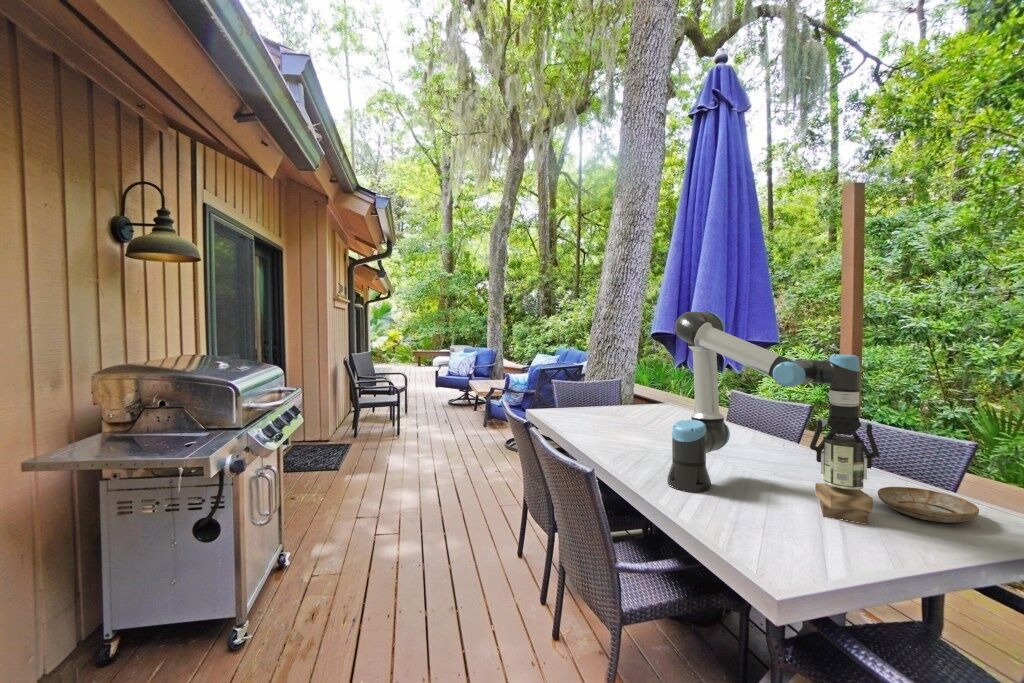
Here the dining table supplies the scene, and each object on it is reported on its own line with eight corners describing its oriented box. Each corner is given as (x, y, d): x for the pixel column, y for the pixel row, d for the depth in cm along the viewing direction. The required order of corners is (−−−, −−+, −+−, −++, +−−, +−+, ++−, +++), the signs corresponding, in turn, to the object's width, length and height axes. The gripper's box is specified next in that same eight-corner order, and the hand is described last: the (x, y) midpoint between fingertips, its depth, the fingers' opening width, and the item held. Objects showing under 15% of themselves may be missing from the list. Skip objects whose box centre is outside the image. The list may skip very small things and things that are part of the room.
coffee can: (852, 479, 144) (853, 436, 144) (871, 491, 134) (871, 444, 134) (816, 477, 146) (817, 434, 146) (832, 488, 136) (833, 442, 136)
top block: (830, 508, 136) (830, 495, 136) (815, 495, 147) (815, 482, 147) (872, 511, 133) (872, 498, 133) (854, 497, 144) (854, 485, 144)
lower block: (822, 518, 138) (823, 505, 138) (819, 506, 148) (820, 494, 148) (868, 526, 133) (868, 512, 133) (861, 512, 142) (862, 500, 142)
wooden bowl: (977, 513, 140) (977, 497, 140) (980, 539, 123) (980, 521, 123) (881, 494, 157) (882, 480, 156) (872, 514, 140) (873, 499, 140)
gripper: (801, 403, 142) (800, 472, 143) (893, 409, 130) (892, 485, 131) (800, 399, 148) (799, 466, 149) (888, 405, 137) (887, 477, 137)
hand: (842, 475), depth 140 cm, fingers closed on coffee can, 10 cm apart
